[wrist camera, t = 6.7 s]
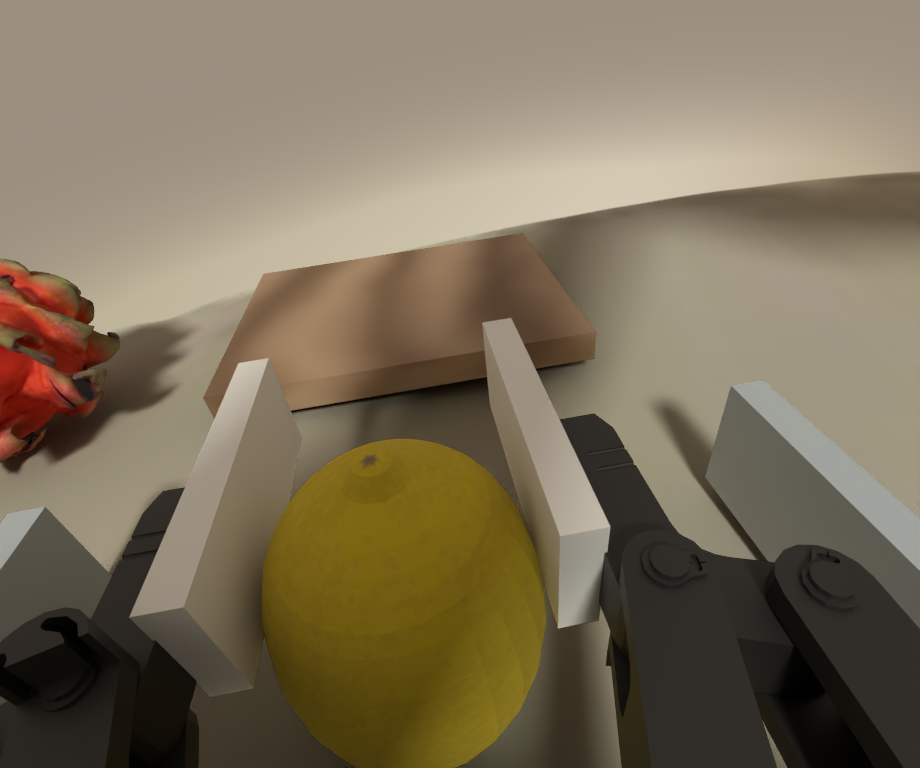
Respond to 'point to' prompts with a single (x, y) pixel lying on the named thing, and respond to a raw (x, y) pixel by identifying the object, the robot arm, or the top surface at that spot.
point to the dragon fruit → (45, 355)
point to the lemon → (403, 606)
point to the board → (401, 321)
